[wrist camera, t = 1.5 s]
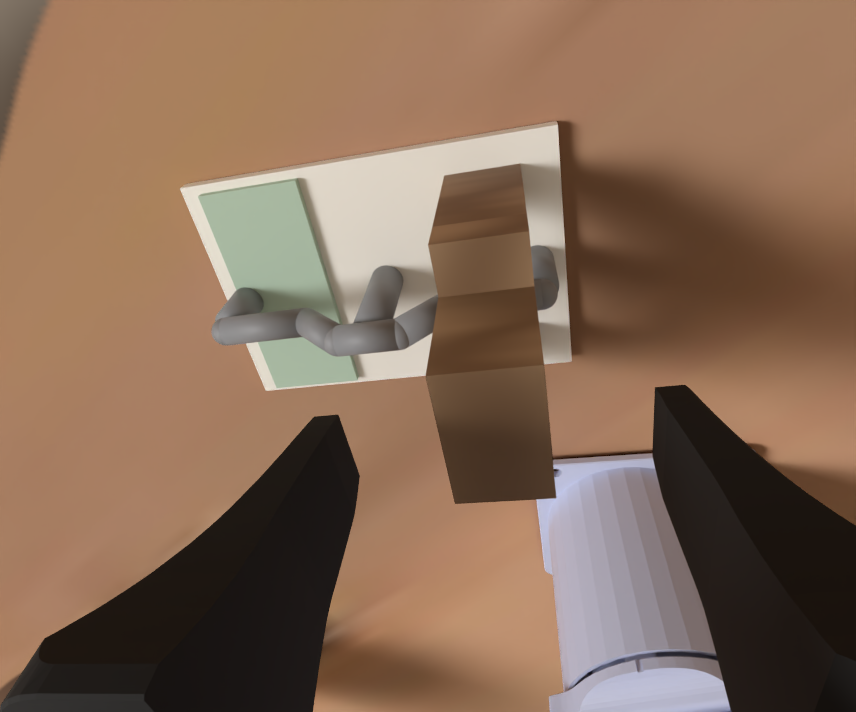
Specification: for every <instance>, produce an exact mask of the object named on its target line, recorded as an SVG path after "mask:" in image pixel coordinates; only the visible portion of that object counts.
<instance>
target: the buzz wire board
mask: <svg viewBox="0 0 856 712" xmlns="http://www.w3.org/2000/svg"><path fill="white" fill-rule="evenodd" d="M514 164H520V165H521V172H522V180H523V188H524V195H525V203H526V210H527V218H528V226H529V234H530V245H531V256H532V266H533V277H534V287H535V295H536V303H537V311H538V319H539V327H540V335H541V343H542V351H543V359H544V364H552V363H562V362H572V356H571V339H570V322H569V305H568V288H567V271H566V254H565V237H564V220H563V203H562V186H561V169H560V152H559V135H558V124H557V121H553V122H547V123H541V124H536V125H530V126H524V127H518V128H512V129H506V130H500V131H494V132H489V133H483V134H477V135H471V136H465V137H459V138H453V139H447V140H442V141H436V142H430V143H424V144H418V145H412V146H406V147H400V148H395V149H389V150H383V151H377V152H371V153H365V154H359V155H353V156H348V157H342V158H336V159H330V160H324V161H318V162H312V163H306V164H301V165H295V166H289V167H283V168H277V169H271V170H265V171H259V172H253V173H248V174H242V175H236V176H230V177H224V178H218V179H212V180H206V181H201V182H195V183H189V184H185V185H184V186H183V187H181V188H180V190H181V192H182V195H183V197H184V199H185V202H186V204H187V206H188V209H189V211H190V213H191V216H192V218H193V220H194V223H195V225H196V227H197V230H198V232H199V235H200V237H201V239H202V242H203V244H204V246H205V249H206V251H207V253H208V256H209V258H210V260H211V263H212V265H213V267H214V270H215V272H216V274H217V277H218V279H219V282H220V284H221V286H222V289H223V291H224V293H225V296H226V298H227V300H228V301H227V303H226V304H225V305H224V306H223V308H222V309H221V310H220V311H219V313H218V314H217V316H216V320H215V321H216V322H215V323H214V324H213V326H212V336H213V338H214V340H215V341H216V342H218V343H219V344H221V345H236V344H245V343H246V345H247V347H248V350H249V352H250V354H251V357H252V359H253V361H254V364H255V366H256V368H257V371H258V373H259V375H260V378H261V380H262V383H263V385H264V387H265V390H266V391H269V390H280V389H290V388H301V387H311V386H322V385H332V384H343V383H353V382H364V381H374V380H384V379H395V378H405V377H416V376H426V370H427V364H428V358H429V352H430V346H431V340H432V334H433V328H434V322H435V315H436V309H437V303H438V293H437V288H436V283H435V278H434V273H433V268H432V263H431V258H430V253H429V248H428V243H429V239H430V234H431V230H432V226H433V222H434V217H435V213H436V209H437V204H438V200H439V196H440V192H441V187H442V183H443V179H444V175H451V174H457V173H463V172H469V171H476V170H482V169H488V168H495V167H501V166H507V165H514ZM294 178H298V181H299V184H300V187H301V191H302V194H303V197H304V200H305V204H306V207H307V210H308V213H309V217H310V220H311V223H312V226H313V229H314V233H315V236H316V239H317V242H318V246H319V249H320V252H321V255H322V259H323V262H324V265H325V268H326V271H327V275H328V278H329V281H330V284H331V288H332V291H333V294H334V297H335V301H336V304H337V307H338V310H339V313H340V317H341V320H342V323H343V325H341V324H339V323H337V322H335V321H333V320H332V319H330V318H328V317H326V316H324V315H323V314H321V313H319V312H317V311H315V310H314V309H311V308H297V309H288V310H280V311H272V312H264V313H260V312H261V311H262V309H263V307H264V302H263V299H262V297H261V295H260V294H259V293H258V292H257V291H255V290H253V289H251V288H247V287H243V288H239V289H237V290H236V288H235V286H234V283H233V281H232V279H231V276H230V274H229V271H228V269H227V266H226V264H225V262H224V259H223V257H222V254H221V252H220V249H219V247H218V245H217V242H216V240H215V237H214V235H213V232H212V230H211V228H210V225H209V223H208V220H207V218H206V215H205V213H204V211H203V208H202V206H201V203H200V201H199V198H198V196H199V195H201V194H203V193H209V192H215V191H221V190H227V189H233V188H239V187H245V186H251V185H257V184H263V183H270V182H276V181H282V180H288V179H294ZM299 337H303V338H305V339H307V340H308V341H310V342H311V343H313V344H314V345H316V346H317V347H319V348H321V349H322V350H324V351H325V352H327V353H328V354H330V355H332V356H336V357H341V356H350V355H353V359H354V362H355V365H356V368H357V372H358V375H359V377H358V380H356V381H345V382H335V383H325V384H314V385H304V386H293V387H283V388H276V385H275V383H274V381H273V378H272V376H271V373H270V371H269V368H268V366H267V364H266V361H265V359H264V356H263V354H262V351H261V349H260V347H259V344H258V342H263V341H272V340H281V339H290V338H299Z"/></svg>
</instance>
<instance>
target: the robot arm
mask: <svg viewBox="0 0 856 712" xmlns="http://www.w3.org/2000/svg"><path fill="white" fill-rule="evenodd" d="M553 467H554V469H559V470H557V471H554V478H555V489H556V498H553V499H536V500H537V508H538V517H539V525H540V533H541V542H542V550H543V559H544V567H545V571H546V572H547V573H549V574H552V575H553V584H554V595H555V605H556V615H557V626H558V636H559V647H560V657H561V668H562V678H563V688H564V692H563V693H559V694H555V695H551V696H550V697H549V706H550V712H856V526H855V525H854V524H852V523H850V522H849V521H847V520H846V519H844V518H843V517H841V516H840V515H838V514H836V513H835V512H834V511H832V510H831V509H829V508H828V507H826V506H825V505H823V504H822V503H820V502H819V501H818V500H816V499H815V498H813V497H812V496H810V495H809V494H808V493H806V492H805V491H803V490H802V489H801V488H799V487H798V486H797V485H796V484H794V483H793V482H792V481H790V480H789V479H788V478H787V477H785V476H784V475H783V474H782V473H780V472H779V471H778V470H777V469H775V468H774V467H773V466H772V465H770V464H769V463H768V462H767V461H766V460H764V459H763V458H762V457H761V456H760V455H759V454H757V453H756V451H755V450H754V449H752V448H751V447H750V446H748V445H747V444H746V443H745V442H744V441H743V440H742V439H741V438H740V437H738V436H737V435H736V434H735V433H734V432H733V431H732V430H731V429H730V428H729V427H728V426H727V425H726V424H725V423H723V422H722V421H721V420H720V419H719V418H718V417H717V416H716V415H715V414H714V413H713V412H712V411H711V410H710V409H709V408H708V407H707V406H706V405H705V404H704V403H703V402H702V401H701V400H700V399H699V398H698V397H697V396H696V394H695V393H694V392H693V391H692V390H691V389H690V388H688V387H687V386H686V385H678V386H666V387H655V403H654V429H653V453H648V454H633V455H618V456H602V457H587V458H572V459H557V460H553ZM359 477H360V475H359V473H358V470H357V467H356V464H355V461H354V458H353V455H352V453H351V450H350V447H349V444H348V441H347V438H346V435H345V433H344V430H343V427H342V424H341V421H340V418H339V416H338V415H330V416H318V417H314V418H313V419H312V420H311V421H310V422H309V423H308V424H307V425H306V426H305V427H304V429H303V430H302V431H301V432H300V433H299V434H298V435H297V437H296V438H295V439H294V440H293V441H292V442H291V443H290V445H289V446H288V447H287V448H286V449H285V450H284V452H283V453H282V454H281V455H280V456H279V457H278V458H277V459H276V460H275V462H274V463H273V464H272V465H271V466H270V467H269V468H268V469H267V470H266V472H265V473H264V474H263V475H262V476H261V477H260V478H259V479H258V480H257V481H256V482H255V483H254V484H253V485H252V486H251V487H250V488H249V489H248V490H247V491H246V492H245V493H244V494H243V496H242V497H241V498H240V499H239V500H238V501H237V502H236V503H235V504H234V505H233V506H232V507H231V508H230V509H229V510H228V511H226V512H225V513H224V514H223V515H222V516H221V517H220V518H219V519H218V520H217V521H216V522H215V523H213V524H212V525H211V526H210V527H209V528H208V529H207V530H205V531H204V532H203V533H202V534H201V535H200V536H198V537H197V538H196V539H195V540H194V541H192V542H191V543H190V544H189V545H188V546H186V547H185V548H184V549H182V550H181V551H180V552H178V553H177V554H176V555H174V556H173V557H172V558H171V559H169V560H168V561H167V562H165V563H164V564H163V565H161V566H160V567H159V568H157V569H156V570H155V571H153V572H152V573H151V574H149V575H148V576H146V577H145V578H143V579H142V580H141V581H139V582H138V583H136V584H135V585H133V586H132V587H130V588H129V589H127V590H126V591H124V592H123V593H121V594H120V595H118V596H116V597H115V598H113V599H112V600H110V601H109V602H107V603H106V604H104V605H102V606H101V607H99V608H97V609H96V610H94V611H92V612H91V613H89V614H87V615H85V616H84V617H82V618H80V619H78V620H77V621H75V622H73V623H72V624H70V625H68V626H66V627H65V628H63V629H61V630H59V631H58V632H56V633H54V634H52V635H50V636H48V637H47V638H45V639H44V640H43V642H42V643H41V645H40V646H39V648H38V649H37V651H36V652H35V654H34V655H33V657H32V658H31V660H30V661H29V663H28V664H27V666H26V667H25V669H24V670H23V672H22V673H21V675H20V676H19V678H18V680H17V681H16V683H15V684H14V686H13V687H12V689H11V690H10V692H9V693H8V695H7V696H6V698H5V699H4V701H3V702H2V704H1V707H0V712H313V705H314V698H315V691H316V684H317V677H318V670H319V663H320V657H321V651H322V645H323V639H324V633H325V627H326V621H327V616H328V612H329V608H330V603H331V599H332V595H333V592H334V588H335V585H336V581H337V577H338V574H339V570H340V567H341V563H342V559H343V556H344V552H345V548H346V545H347V541H348V537H349V534H350V530H351V526H352V522H353V518H354V514H355V508H356V501H357V493H358V485H359Z"/></svg>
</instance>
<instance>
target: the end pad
mask: <svg viewBox="0 0 856 712" xmlns="http://www.w3.org/2000/svg"><path fill="white" fill-rule="evenodd" d="M198 198H199V201H200V203H201V206H202V208H203V211H204V213H205V215H206V218H207V220H208V223H209V225H210V228H211V230H212V232H213V235H214V237H215V240H216V242H217V245H218V247H219V249H220V252H221V254H222V257H223V259H224V262H225V264H226V266H227V269H228V271H229V274H230V276H231V279H232V281H233V283H234V286H235V288H236V290H237V289H239V288H243V287H247V288H251V289H253V290H255V291H257V292H258V293H259V294H260V295H261V297H262V299H263V302H264V307H263V309H262V311H261V312H260V313H264V312H272V311H280V310H288V309H297V308H311V309H314V310H315V311H317V312H319V313H321V314H323V315H324V316H326V317H328V318H330V319H332V320H333V321H335V322H337V323H339V324H341V325H343V323H342V320H341V317H340V313H339V310H338V307H337V304H336V301H335V297H334V294H333V291H332V288H331V284H330V281H329V278H328V275H327V271H326V268H325V265H324V262H323V259H322V255H321V252H320V249H319V246H318V242H317V239H316V236H315V233H314V229H313V226H312V223H311V220H310V217H309V213H308V210H307V207H306V204H305V200H304V197H303V194H302V191H301V187H300V184H299V181H298V178H294V179H288V180H282V181H276V182H270V183H263V184H257V185H251V186H245V187H239V188H233V189H227V190H221V191H215V192H209V193H203V194H201V195H199V196H198ZM258 344H259V347H260V349H261V351H262V354H263V356H264V359H265V361H266V364H267V366H268V368H269V371H270V373H271V376H272V378H273V381H274V383H275V385H276V388H283V387H293V386H304V385H314V384H325V383H335V382H345V381H356V380H358V377H359V375H358V372H357V368H356V365H355V362H354V359H353V355H350V356H341V357H336V356H332V355H330V354H328V353H327V352H325V351H324V350H322V349H321V348H319V347H317V346H316V345H314V344H313V343H311V342H310V341H308V340H307V339H305V338H303V337H299V338H290V339H281V340H272V341H263V342H258Z"/></svg>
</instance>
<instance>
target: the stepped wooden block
mask: <svg viewBox="0 0 856 712" xmlns="http://www.w3.org/2000/svg"><path fill="white" fill-rule="evenodd" d="M428 248H429V253H430V258H431V263H432V268H433V273H434V278H435V283H436V288H437V293H438V303H437V309H436V315H435V322H434V328H433V334H432V340H431V346H430V352H429V358H428V364H427V370H426V381H427V385H428V389H429V394H430V398H431V402H432V407H433V411H434V415H435V420H436V424H437V428H438V432H439V437H440V441H441V445H442V450H443V454H444V458H445V463H446V467H447V471H448V476H449V480H450V484H451V489H452V493H453V497H454V502H455V504H461V503H479V502H498V501H516V500H535V499H553V498H556V489H555V478H554V467H553V456H552V445H551V434H550V423H549V412H548V401H547V390H546V379H545V368H544V359H543V351H542V343H541V335H540V327H539V319H538V311H537V303H536V295H535V287H534V277H533V266H532V256H531V245H530V234H529V226H528V218H527V210H526V203H525V195H524V188H523V180H522V172H521V165H520V164H514V165H507V166H501V167H495V168H488V169H482V170H476V171H469V172H463V173H457V174H451V175H444V179H443V183H442V187H441V192H440V196H439V200H438V204H437V209H436V213H435V217H434V222H433V226H432V230H431V234H430V239H429V243H428Z"/></svg>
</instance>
